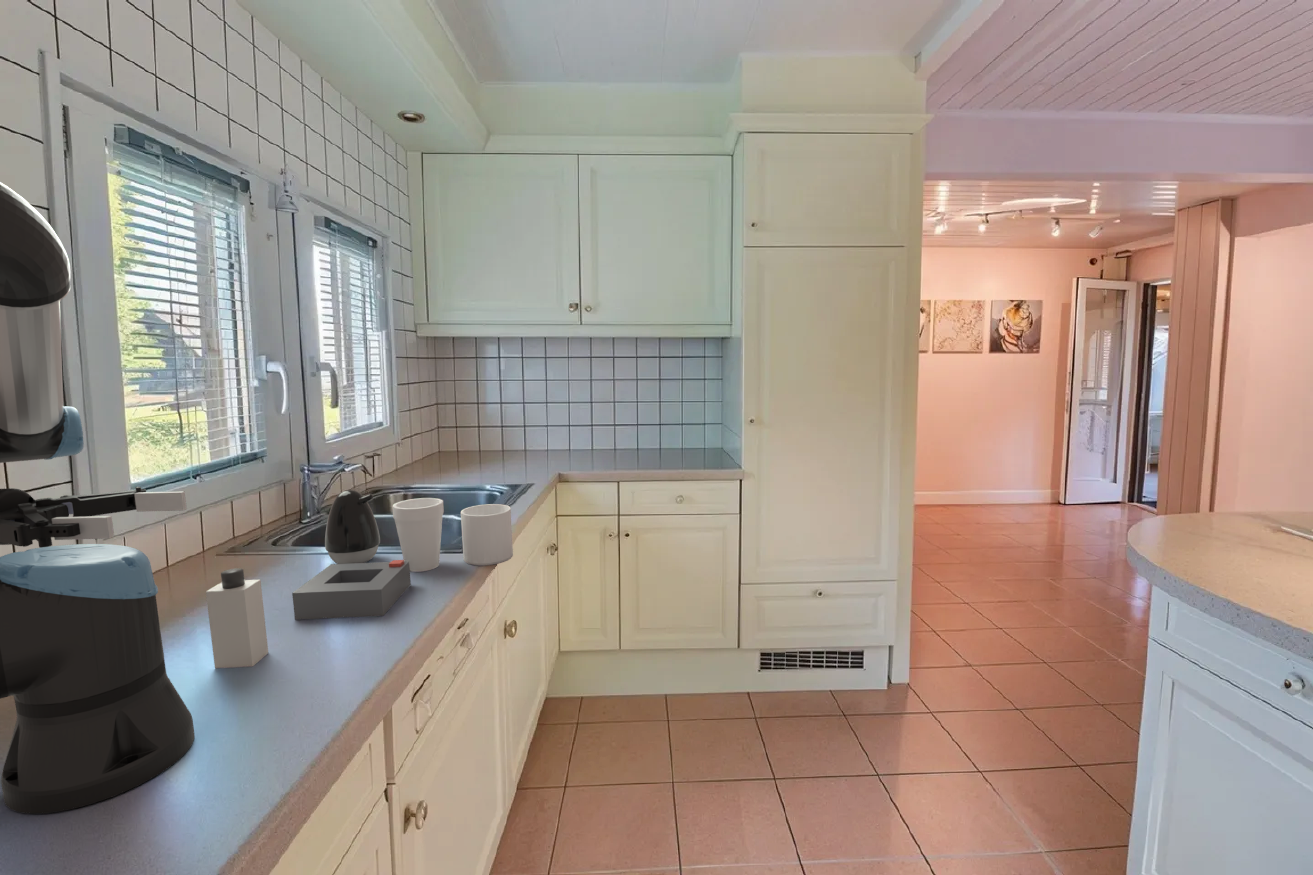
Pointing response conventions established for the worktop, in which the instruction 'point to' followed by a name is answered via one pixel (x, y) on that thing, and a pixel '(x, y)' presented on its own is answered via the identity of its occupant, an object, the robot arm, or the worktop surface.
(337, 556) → the pump dispenser
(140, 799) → the worktop surface
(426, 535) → the foam cup
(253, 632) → the plug
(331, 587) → the socket
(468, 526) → the mug
